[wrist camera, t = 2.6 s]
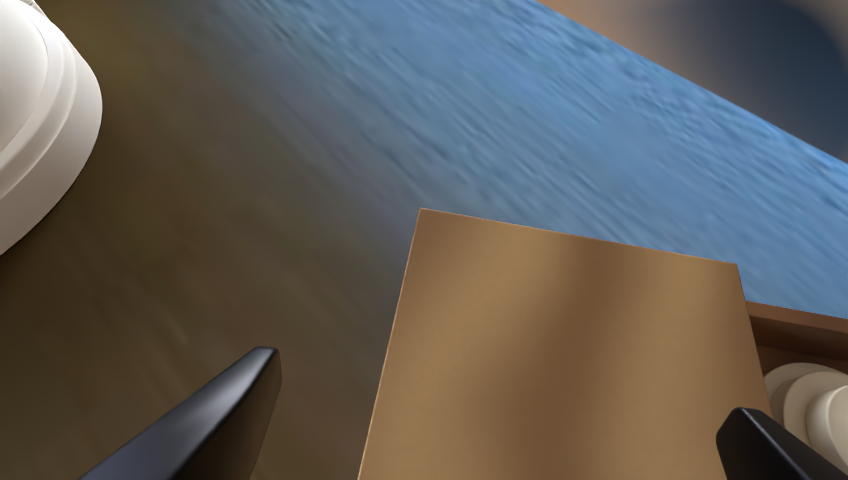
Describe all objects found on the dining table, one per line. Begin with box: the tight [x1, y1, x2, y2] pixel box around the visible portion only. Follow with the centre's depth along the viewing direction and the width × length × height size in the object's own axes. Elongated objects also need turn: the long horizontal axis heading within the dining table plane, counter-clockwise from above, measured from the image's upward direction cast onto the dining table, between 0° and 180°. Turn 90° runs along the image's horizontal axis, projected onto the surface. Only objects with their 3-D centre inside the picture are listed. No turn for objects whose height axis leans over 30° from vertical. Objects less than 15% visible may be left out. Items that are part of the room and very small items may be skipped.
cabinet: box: [357, 208, 773, 480], centre depth 20 cm, size 16×14×6 cm
